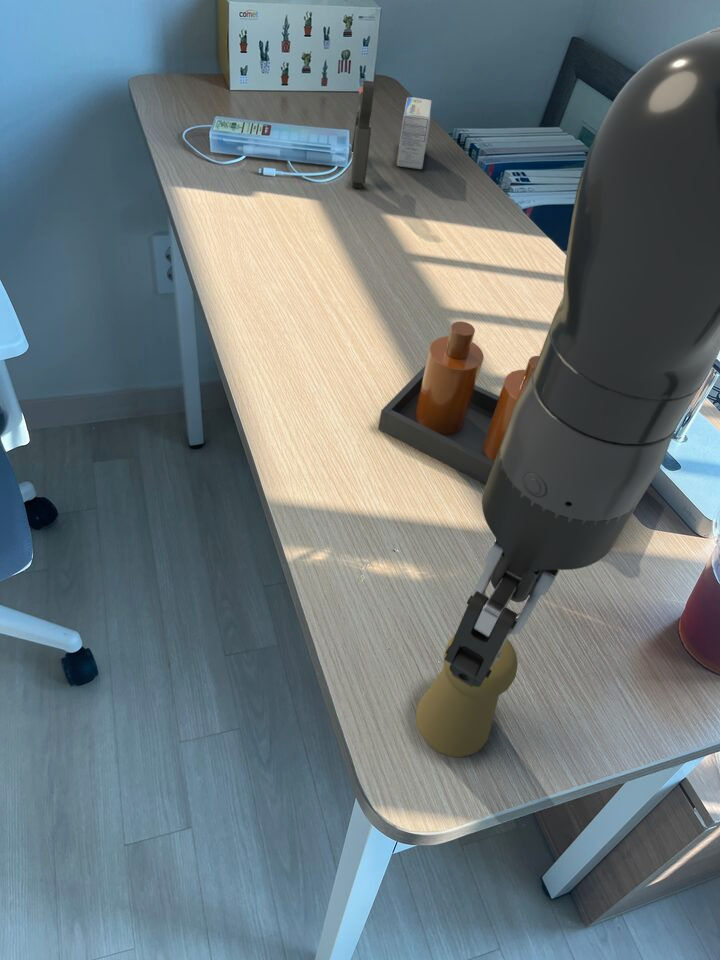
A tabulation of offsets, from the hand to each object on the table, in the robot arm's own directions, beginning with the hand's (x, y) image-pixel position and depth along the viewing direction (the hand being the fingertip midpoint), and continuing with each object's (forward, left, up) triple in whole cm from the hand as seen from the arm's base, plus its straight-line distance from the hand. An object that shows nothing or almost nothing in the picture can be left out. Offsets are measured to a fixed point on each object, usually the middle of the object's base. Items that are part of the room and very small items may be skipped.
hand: (493, 628), depth 50 cm
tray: (+9, -31, -14) cm, 35 cm away
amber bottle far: (+17, -31, -13) cm, 37 cm away
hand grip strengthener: (+57, -76, -14) cm, 96 cm away
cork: (0, 0, -14) cm, 14 cm away
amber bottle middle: (+9, -31, -13) cm, 34 cm away
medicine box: (+53, -87, -14) cm, 103 cm away
